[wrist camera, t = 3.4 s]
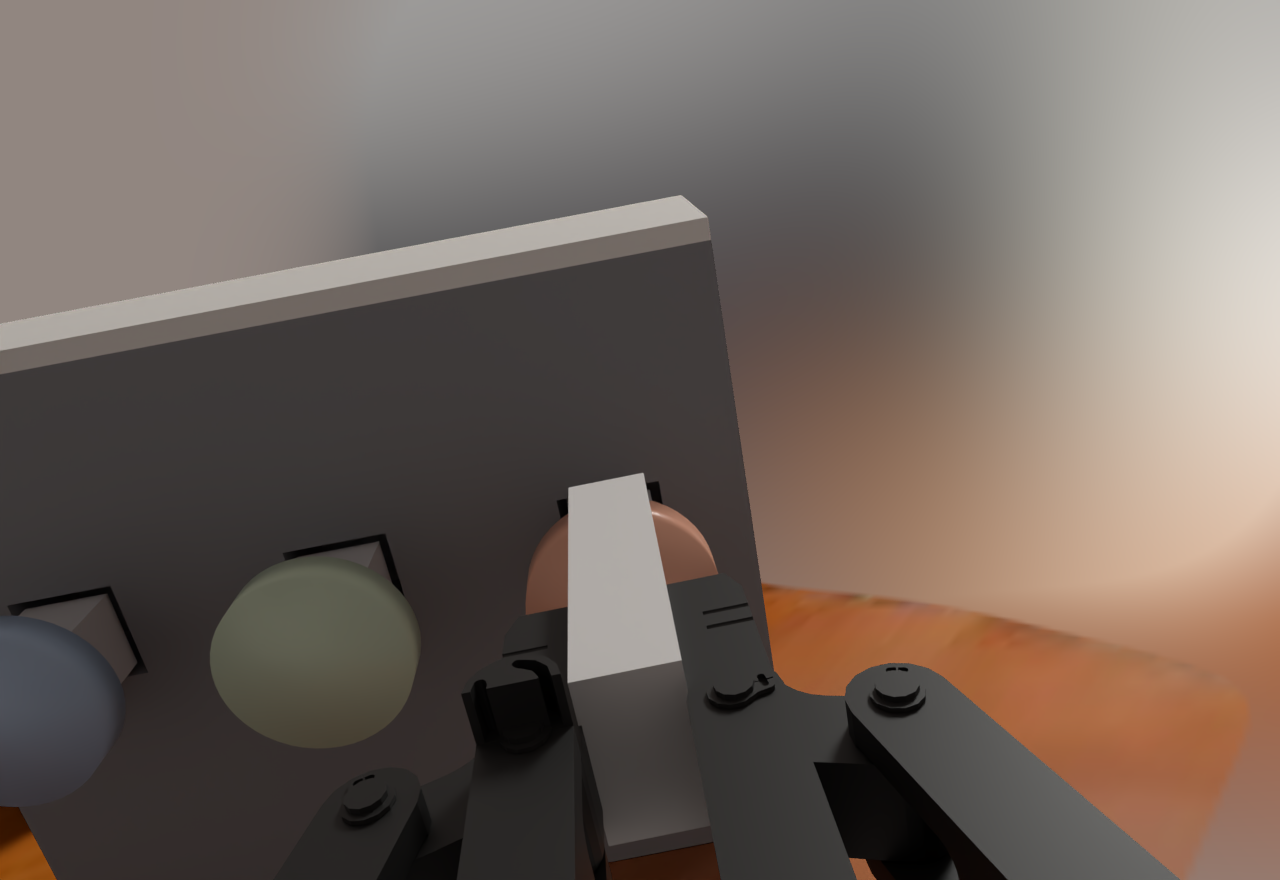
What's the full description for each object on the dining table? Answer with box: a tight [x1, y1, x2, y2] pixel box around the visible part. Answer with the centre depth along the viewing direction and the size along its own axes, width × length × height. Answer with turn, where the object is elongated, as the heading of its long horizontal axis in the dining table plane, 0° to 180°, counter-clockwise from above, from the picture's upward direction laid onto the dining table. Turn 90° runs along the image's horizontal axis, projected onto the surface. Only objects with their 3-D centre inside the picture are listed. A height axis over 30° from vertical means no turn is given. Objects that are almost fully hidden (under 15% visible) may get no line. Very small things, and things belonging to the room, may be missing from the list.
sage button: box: [210, 541, 421, 749], centre depth 25 cm, size 4×5×5 cm
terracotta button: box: [526, 490, 718, 615], centre depth 25 cm, size 4×5×5 cm
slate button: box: [0, 594, 138, 807], centre depth 25 cm, size 4×5×5 cm
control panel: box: [0, 195, 774, 880], centre depth 30 cm, size 6×24×21 cm, turn 94°
